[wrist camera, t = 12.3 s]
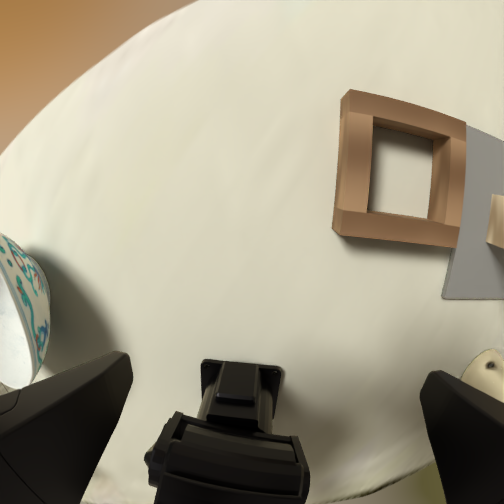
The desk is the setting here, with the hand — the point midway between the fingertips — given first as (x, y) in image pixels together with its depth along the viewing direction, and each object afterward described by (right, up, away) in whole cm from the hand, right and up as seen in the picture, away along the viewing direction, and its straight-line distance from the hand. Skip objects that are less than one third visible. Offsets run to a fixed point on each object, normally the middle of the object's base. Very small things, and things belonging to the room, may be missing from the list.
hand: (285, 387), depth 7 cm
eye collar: (+9, +9, +10) cm, 17 cm away
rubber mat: (+21, +6, +10) cm, 24 cm away
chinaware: (-23, 0, +15) cm, 28 cm away
